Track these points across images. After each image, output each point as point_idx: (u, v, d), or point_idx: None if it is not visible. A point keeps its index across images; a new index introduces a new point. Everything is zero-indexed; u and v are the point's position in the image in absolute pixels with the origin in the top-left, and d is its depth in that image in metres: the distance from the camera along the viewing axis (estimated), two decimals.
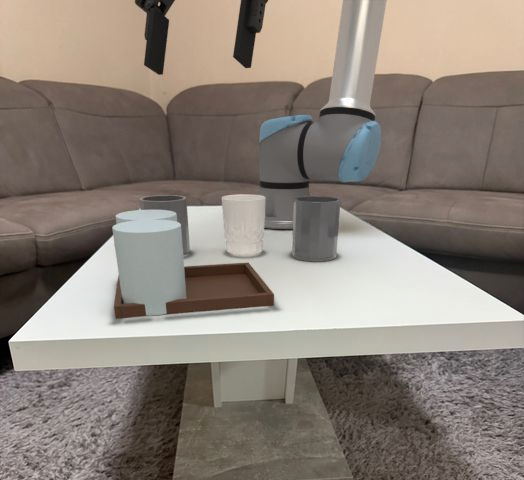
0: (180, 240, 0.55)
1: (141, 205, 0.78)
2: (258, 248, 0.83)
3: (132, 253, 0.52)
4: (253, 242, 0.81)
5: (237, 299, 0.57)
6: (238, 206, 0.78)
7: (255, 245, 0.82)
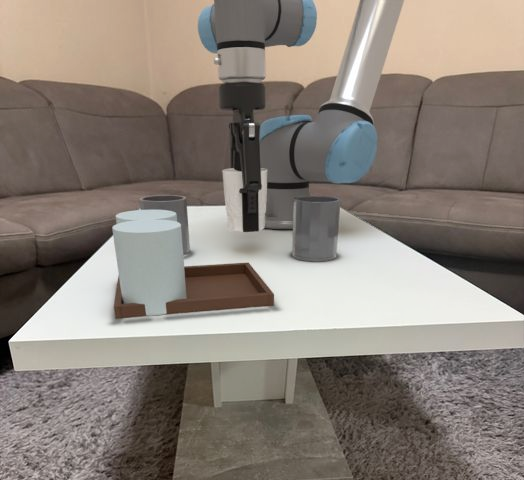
0: (180, 240, 0.55)
1: (141, 205, 0.78)
2: (260, 222, 0.81)
3: (132, 253, 0.52)
4: None
5: (237, 299, 0.57)
6: (239, 178, 0.76)
7: None
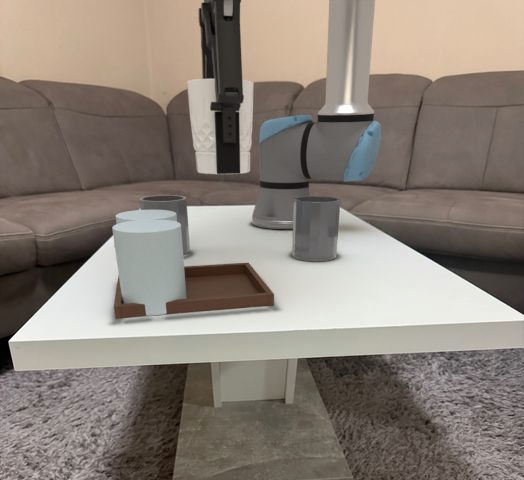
0: (180, 240, 0.55)
1: (141, 205, 0.78)
2: (243, 161, 0.56)
3: (132, 253, 0.52)
4: None
5: (237, 299, 0.57)
6: (210, 89, 0.51)
7: None
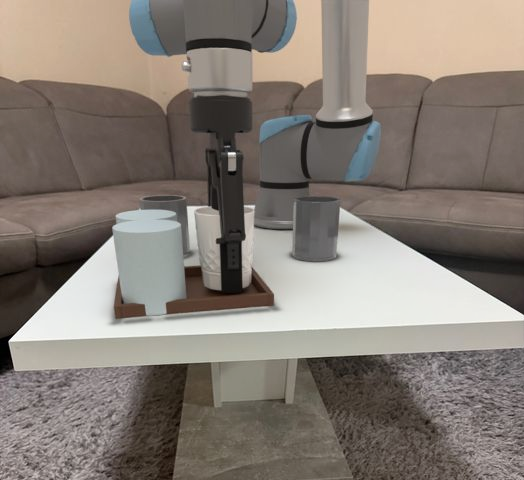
0: (180, 240, 0.55)
1: (141, 205, 0.78)
2: (244, 278, 0.61)
3: (132, 253, 0.52)
4: None
5: (237, 299, 0.57)
6: (215, 223, 0.57)
7: None
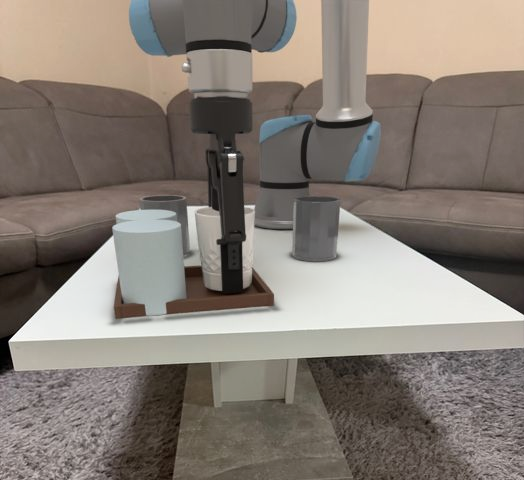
0: (180, 240, 0.55)
1: (141, 205, 0.78)
2: (245, 278, 0.62)
3: (132, 253, 0.52)
4: None
5: (237, 299, 0.57)
6: (216, 224, 0.57)
7: None
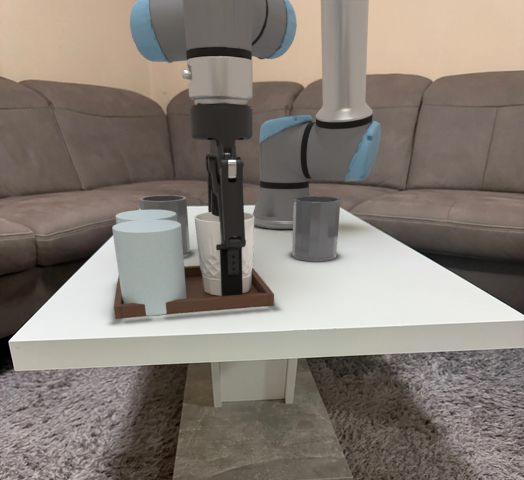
0: (180, 240, 0.55)
1: (141, 205, 0.78)
2: (245, 283, 0.62)
3: (132, 253, 0.52)
4: None
5: (237, 299, 0.57)
6: (216, 230, 0.57)
7: None
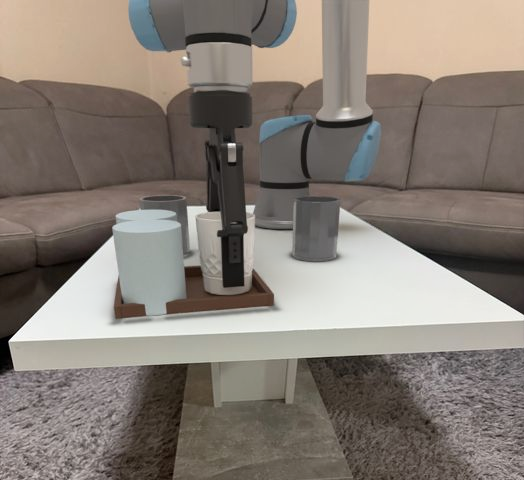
0: (180, 240, 0.55)
1: (141, 205, 0.78)
2: (245, 282, 0.62)
3: (132, 253, 0.52)
4: None
5: (237, 299, 0.57)
6: (216, 228, 0.57)
7: None
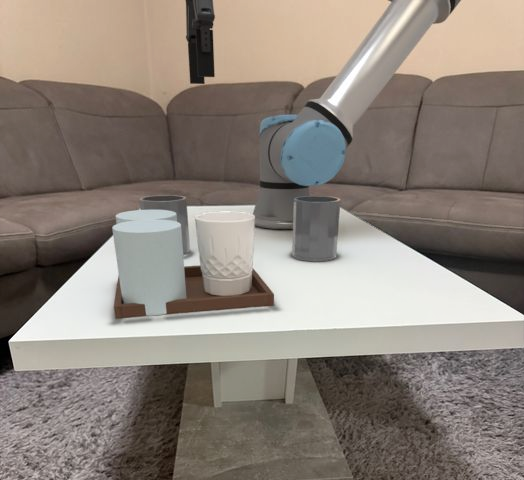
0: (180, 240, 0.55)
1: (141, 205, 0.78)
2: (245, 283, 0.62)
3: (132, 253, 0.52)
4: (238, 277, 0.61)
5: (237, 299, 0.57)
6: (216, 230, 0.57)
7: (241, 280, 0.61)
